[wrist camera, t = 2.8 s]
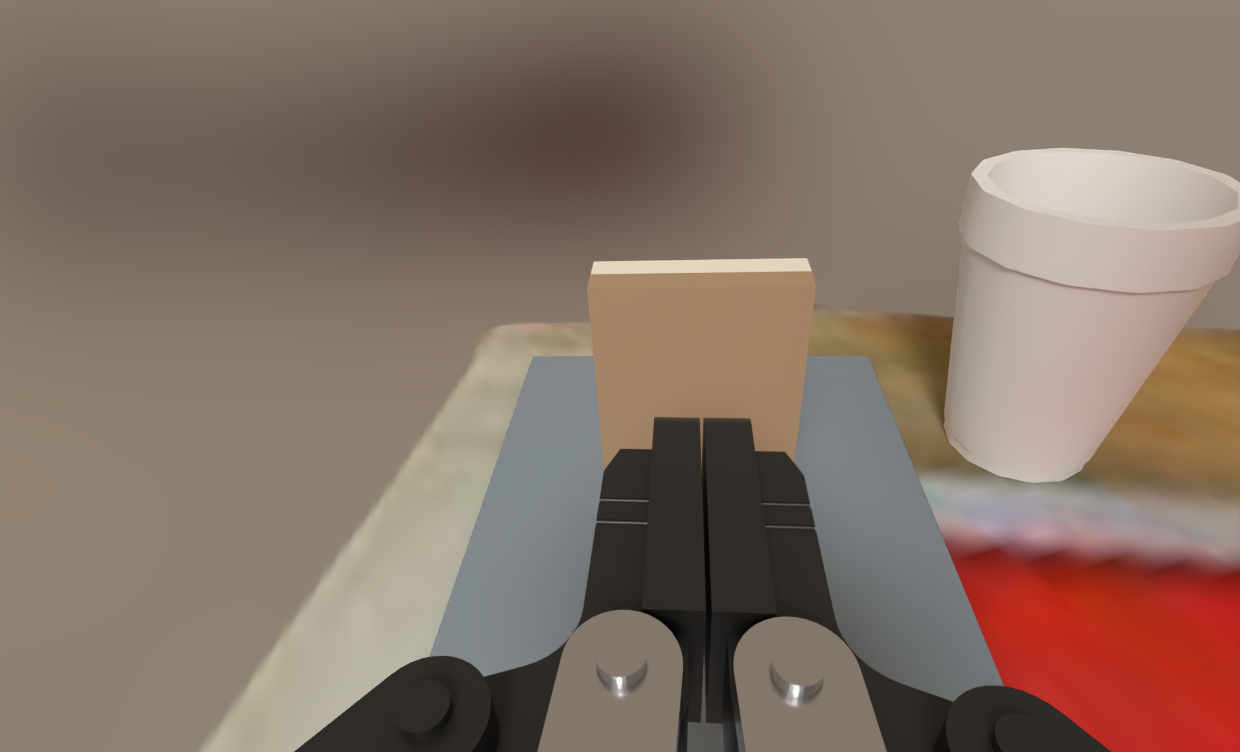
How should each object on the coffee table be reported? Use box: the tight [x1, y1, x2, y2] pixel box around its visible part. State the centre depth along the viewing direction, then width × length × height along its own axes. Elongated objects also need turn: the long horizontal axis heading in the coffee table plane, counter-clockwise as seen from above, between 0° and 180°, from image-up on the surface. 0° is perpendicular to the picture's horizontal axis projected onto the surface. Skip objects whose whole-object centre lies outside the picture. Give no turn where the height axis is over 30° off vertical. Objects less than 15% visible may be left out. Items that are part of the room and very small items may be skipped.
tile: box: [587, 258, 816, 470], centre depth 24 cm, size 2×7×13 cm, turn 85°
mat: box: [430, 356, 1004, 752], centre depth 29 cm, size 20×28×1 cm
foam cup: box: [943, 148, 1240, 483], centre depth 30 cm, size 10×9×13 cm
